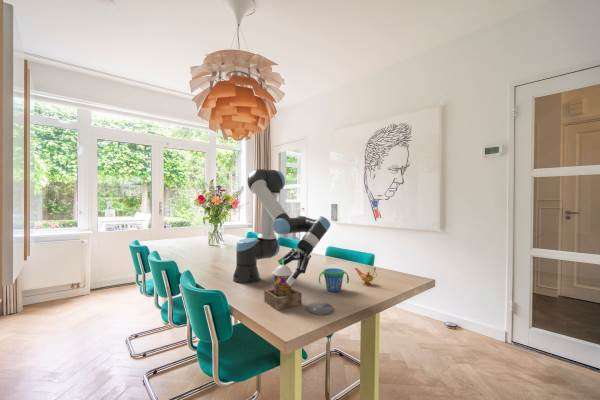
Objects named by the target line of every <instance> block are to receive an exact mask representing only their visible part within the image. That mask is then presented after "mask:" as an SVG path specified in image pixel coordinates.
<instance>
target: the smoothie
mask: <svg viewBox="0 0 600 400" xmlns="http://www.w3.org/2000/svg"><path fill="white" fill-rule="evenodd" d="M277 266H278V265H277ZM277 266H276V267H277ZM276 267H275V269H274V270H275V272H274V277H273V283H274V285H273V286H274V287H273V288H275V295H276V296H277V297H282V296H286V295H290V294H291V288H292V285H291V286H290V285H289V284H288V283H287V282H286V281H287V280H288V278H289V277H290V276H291V274H292V273H293V272H292V270H291V268H290V266H288V265H287V264H286V265H284V259H282V265H280V266H278V267H277V268H276Z"/></svg>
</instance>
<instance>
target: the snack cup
mask: <svg viewBox="0 0 600 400" xmlns="http://www.w3.org/2000/svg"><path fill="white" fill-rule="evenodd" d="M344 274H346V284H349V283H350V278H349V273H348V272H346V271H345V270H344V269H341V268H334V267H331V268H325V269H323V271H321V273H320V274H319V275H318V283H319V284H320V285H321V284H322V283H321V277H322V275H323V276H324V279H325V287H326V290H327V291H328V292H330V293H338V292H340V291H341V290H342V287H343V281H344V280H343V278H344Z"/></svg>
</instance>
